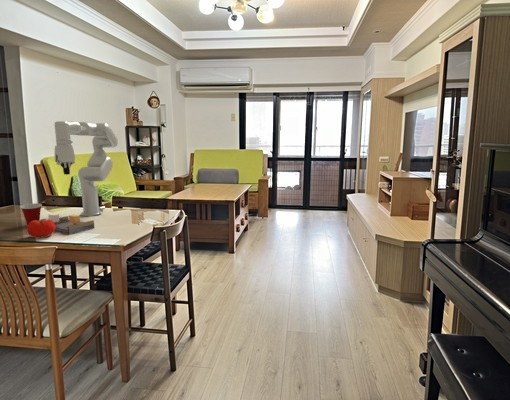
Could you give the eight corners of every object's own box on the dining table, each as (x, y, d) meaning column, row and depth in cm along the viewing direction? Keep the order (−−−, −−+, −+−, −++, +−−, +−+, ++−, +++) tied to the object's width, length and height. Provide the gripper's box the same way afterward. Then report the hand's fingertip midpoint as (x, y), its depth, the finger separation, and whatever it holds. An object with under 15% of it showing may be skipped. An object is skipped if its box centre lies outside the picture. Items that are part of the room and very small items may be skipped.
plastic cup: (21, 228, 195) (18, 207, 193) (23, 224, 205) (20, 204, 203) (43, 226, 200) (41, 205, 198) (44, 222, 210) (42, 202, 208)
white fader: (54, 222, 197) (53, 213, 196) (59, 223, 194) (58, 214, 193) (49, 223, 194) (48, 214, 193) (54, 224, 192) (53, 215, 191)
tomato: (63, 232, 186) (62, 216, 184) (48, 239, 173) (47, 222, 172) (38, 232, 186) (36, 216, 185) (21, 239, 174) (19, 222, 172)
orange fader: (74, 224, 193) (73, 214, 192) (80, 225, 191) (79, 215, 190) (69, 225, 191) (68, 215, 190) (75, 226, 188) (74, 216, 188)
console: (67, 223, 207) (67, 216, 206) (94, 228, 196) (93, 220, 195) (42, 229, 194) (41, 221, 193) (69, 234, 183) (68, 226, 182)
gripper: (71, 142, 211) (74, 172, 214) (47, 143, 198) (50, 175, 201) (79, 142, 208) (82, 173, 211) (55, 143, 195) (58, 175, 198)
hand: (66, 174), depth 206 cm, fingers closed
